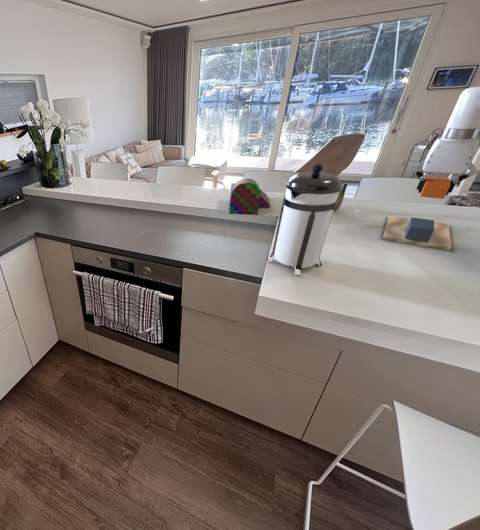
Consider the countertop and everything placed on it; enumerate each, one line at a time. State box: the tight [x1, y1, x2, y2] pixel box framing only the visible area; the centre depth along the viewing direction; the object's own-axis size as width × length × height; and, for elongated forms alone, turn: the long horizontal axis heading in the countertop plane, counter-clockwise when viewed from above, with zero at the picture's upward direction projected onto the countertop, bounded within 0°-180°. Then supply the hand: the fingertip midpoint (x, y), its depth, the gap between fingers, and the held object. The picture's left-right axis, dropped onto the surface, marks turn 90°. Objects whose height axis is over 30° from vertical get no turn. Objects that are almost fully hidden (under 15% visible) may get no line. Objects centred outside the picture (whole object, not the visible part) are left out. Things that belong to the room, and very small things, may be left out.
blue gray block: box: [405, 217, 435, 243], centre depth 94 cm, size 6×9×4 cm, turn 138°
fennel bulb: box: [334, 181, 349, 211], centre depth 120 cm, size 6×5×12 cm
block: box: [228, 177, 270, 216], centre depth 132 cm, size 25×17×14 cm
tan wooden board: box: [382, 215, 453, 252], centre depth 99 cm, size 16×22×1 cm
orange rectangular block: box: [419, 176, 451, 200], centre depth 95 cm, size 6×9×4 cm, turn 138°
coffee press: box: [266, 163, 343, 271], centre depth 82 cm, size 17×16×30 cm
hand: (432, 192), depth 96 cm, fingers closed on orange rectangular block, 5 cm apart
